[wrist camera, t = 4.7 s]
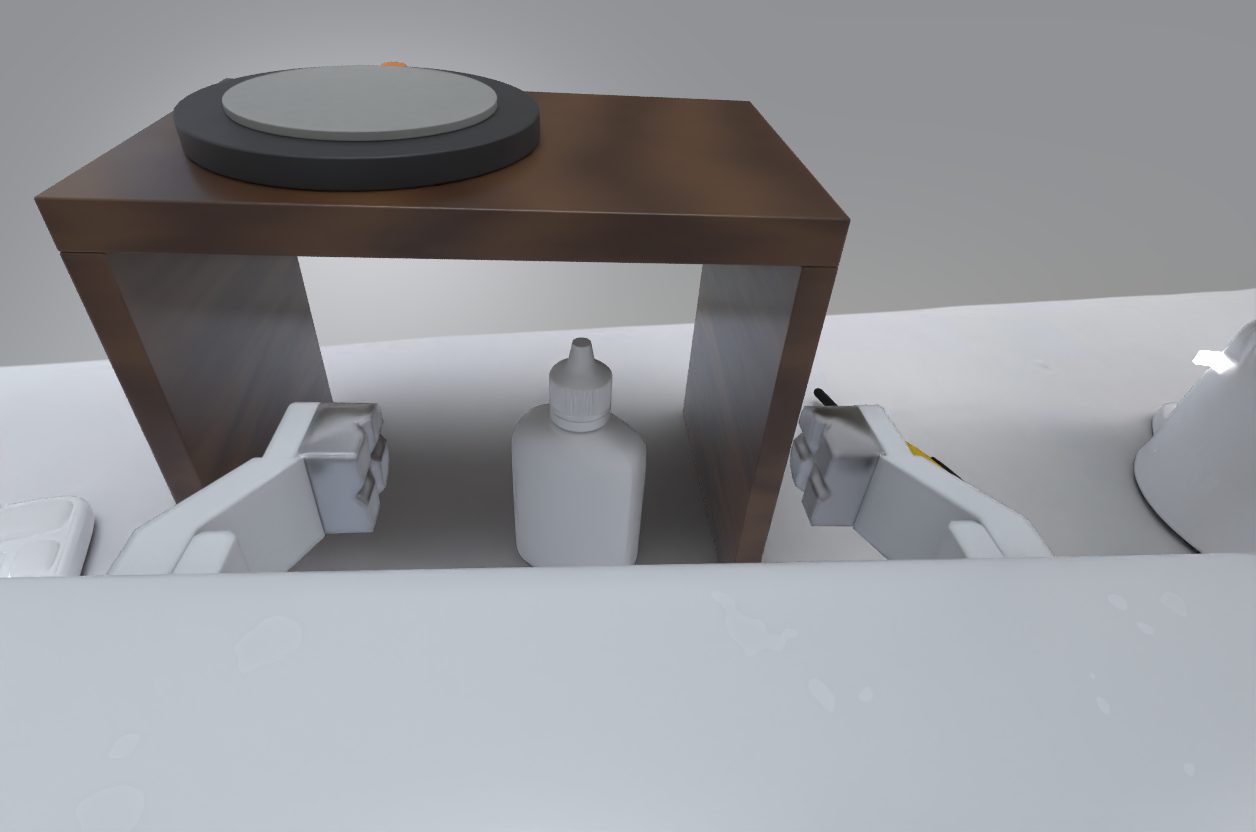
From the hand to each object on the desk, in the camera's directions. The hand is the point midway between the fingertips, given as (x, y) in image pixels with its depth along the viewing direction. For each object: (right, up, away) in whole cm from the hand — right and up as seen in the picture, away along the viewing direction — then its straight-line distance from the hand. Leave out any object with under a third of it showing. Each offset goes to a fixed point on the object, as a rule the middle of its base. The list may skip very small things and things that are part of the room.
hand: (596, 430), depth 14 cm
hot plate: (-9, +10, +11) cm, 18 cm away
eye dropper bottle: (-2, -7, +20) cm, 21 cm away
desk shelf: (-6, -4, +23) cm, 24 cm away
